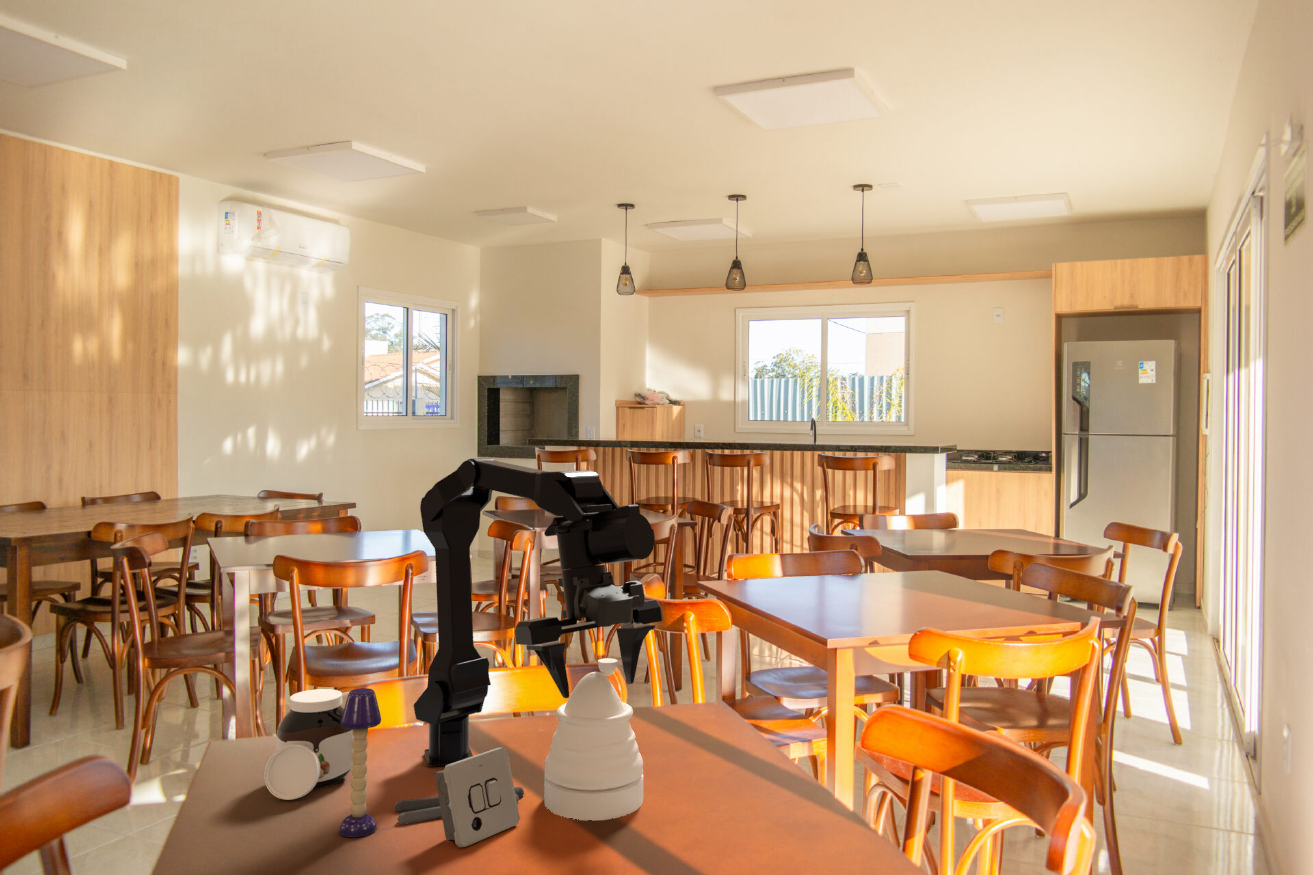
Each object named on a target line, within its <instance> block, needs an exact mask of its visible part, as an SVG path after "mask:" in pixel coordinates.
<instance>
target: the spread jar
mask: <svg viewBox="0 0 1313 875" xmlns="http://www.w3.org/2000/svg"><path fill="white" fill-rule="evenodd" d="M344 708H345V707H344V706H343V692H341V691H340V690H337V689H330V688H319V689H318V688H317V689H307V690H304V691H298V692H296V693H293V694H292V695H290V697H289V711H288V712H287V713H286V714H285V715H284V717H282V718H281V720H280V721H279V724H278V727H277V730H276V739H275V740H276V741H275V745H276V746H275V751H274V752H273V754H271V756H270V757H269V759H268V760H267V762H266V764H265V768H264V771H263V772H264V773H263V778H264V783H265V787H266V788H267V790H268V791H269V792H270V794H272V795H273V796H274V797H276V798H278V799H280V800H284V801H285V800H287V801H288V800H289V801H290V800H297V799H300V798H302V797H304V796H306V795H307V794H309V793H310V792H311V791H313V790H319V789H324V788H327V787H331V786H333V785H336V784H338V783H339V782H341V781H342V780H343V779H344V778H345V777H347V776H348V774H349V773H350V771H351V769H352V765H353V762H352V753H353V751H354V750H353V748H352V742H353V739H354V737H353V733H352V730H353V729H347V728H344V727H342V726H341V719H342V715H343V711H344Z"/></svg>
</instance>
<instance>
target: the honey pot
mask: <svg viewBox="0 0 1313 875" xmlns="http://www.w3.org/2000/svg"><path fill="white" fill-rule="evenodd" d="M618 662H619V661H618V659H616V658H610V657H609V658H600V659H598V660H597V665H598V669H599V671H592V672H588V673H587V674H585V675H584V676H583V677H582V678H581V679H580V680H579V681H578V683H577V684H576V685H575V687H574V689H573V690H572V692H571V694H569V698H567V701H566V702H565V703H563V704H562V705H560V706H558V708H557V710H556V713H555V714H556V717H557V719H559V722H558V724H557V727H556V729H555V732H554V733H553V735H552V742H551V744H550V746H549V752H548V755H547V756H546V757H545V759H544V778H543V779H544V781H543V783H544V786H543V788H544V789H543V790H544V792H543V794H544V799H543V800H544V807H545V808H546V807H547V808H546V809H547V810H548V809H549V810H550V811H551V813H552V812H553V814H554V815H556V814H558V815H560V816H559V817H562V816H564V817H563V818H565V817H566V818H565V819H569V818H573V819H572V820H575V819H577V821H588V820H592V821H591V822H593V821H606V820H613V819H618V818H621V816H622V817H624V816H628V815H630V814H632V813H634V812H636V811H637V810H639V809H640V807H641V806H643V805H642V804H643V802H644V774H643V773H644V769H643V767H644V761H643V757H642V754H641V753H640V751H639V745H638V743H637V741H636V734H635V732H634V730H633V729H632V725H631V722H630V719H631V718H632V717H633V714H634V710H633V707H632V706H631V705H629V704H628V703H626V702H624V701H622V699H621V698H620V695H619V693H618V692H617V690H616V689H615V687H614V685H613V684H612V682H611V680H609V679H608V677H609V676H611V675H613V674H614V673H615V671H616V670H617V667H618ZM549 810H548V811H549ZM550 811H549V812H550ZM627 814H628V815H627ZM558 815H557V816H558ZM612 818H613V819H612ZM578 819H579V820H578Z"/></svg>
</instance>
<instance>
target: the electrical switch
mask: <svg viewBox="0 0 1313 875" xmlns="http://www.w3.org/2000/svg"><path fill="white" fill-rule="evenodd" d="M444 766H445V767H444V769H442V770H439V771H436V772H434V778H435V784H436V789H437V794H438V795H437V796H439V802H440V808H441V814H442V818H441V819H442V824H443V829H444V830H443V831H444V835H445V836H444V837H445V840H449V841H450V840H453V841H454V843H455V845H456V846H457V847H458V848H466V847H469V846H472V845H473V844H475V843H478V842H480V841H483V840H485V839H487V838H489V837H491V836H494V835H496V834H498V833H500V832H502V831H503V832H504V831H505V830H508V829H510V828H513V827H514V826H517V825H518V824H519V822H520V820H521V818H520V811H519V807H518V803H517V800H516V795H515V789H514V787H515V785H514V780H513V779H514V778H513V774H512V768H511V762H510V758H509V754H508V750H507V749H506V748H505V747H496V748H493V749H490V750H488V751H485V752H481V753H478V754H476V755H473V756H472V757H469V758H466V759H463V760H460V761H457V762H454V763H451V764H448V765H444ZM447 797H448V799H447ZM447 803H449V807H450V810H449V808H448V805H447ZM449 813H451V814H449Z"/></svg>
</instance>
